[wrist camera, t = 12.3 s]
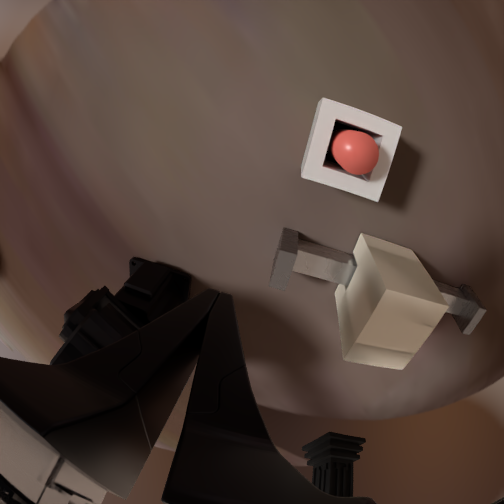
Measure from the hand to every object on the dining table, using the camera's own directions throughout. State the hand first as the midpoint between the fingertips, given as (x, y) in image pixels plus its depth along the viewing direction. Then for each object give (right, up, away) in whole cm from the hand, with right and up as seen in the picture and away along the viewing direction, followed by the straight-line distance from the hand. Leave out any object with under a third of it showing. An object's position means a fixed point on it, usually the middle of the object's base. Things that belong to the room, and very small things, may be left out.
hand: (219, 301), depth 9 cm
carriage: (+11, 0, +13) cm, 17 cm away
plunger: (+8, +9, +8) cm, 14 cm away
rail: (+13, 0, +13) cm, 18 cm away
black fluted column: (+15, -31, +28) cm, 45 cm away
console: (+8, +9, +9) cm, 15 cm away
